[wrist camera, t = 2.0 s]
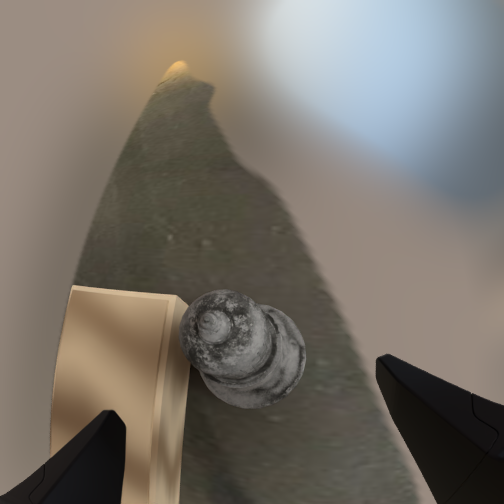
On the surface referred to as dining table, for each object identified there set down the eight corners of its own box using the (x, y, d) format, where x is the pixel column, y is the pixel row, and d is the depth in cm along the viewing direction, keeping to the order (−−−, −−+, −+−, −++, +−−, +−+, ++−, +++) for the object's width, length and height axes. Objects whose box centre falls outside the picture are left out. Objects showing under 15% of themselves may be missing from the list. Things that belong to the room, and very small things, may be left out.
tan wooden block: (177, 553, 11) (155, 576, 7) (85, 515, 12) (54, 527, 8) (197, 313, 20) (174, 293, 16) (102, 302, 21) (70, 283, 17)
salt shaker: (322, 365, 17) (371, 327, 6) (250, 422, 16) (185, 472, 5) (263, 300, 20) (229, 187, 9) (196, 353, 18) (83, 300, 8)
